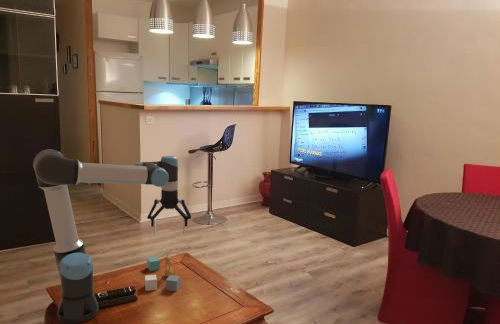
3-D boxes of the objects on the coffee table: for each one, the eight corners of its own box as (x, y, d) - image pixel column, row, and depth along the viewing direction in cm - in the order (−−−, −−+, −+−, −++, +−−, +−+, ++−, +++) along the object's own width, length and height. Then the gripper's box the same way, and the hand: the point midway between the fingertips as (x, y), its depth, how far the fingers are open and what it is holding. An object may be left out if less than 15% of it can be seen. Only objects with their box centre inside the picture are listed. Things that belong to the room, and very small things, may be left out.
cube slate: (165, 290, 180) (165, 280, 179) (169, 285, 185) (169, 275, 184) (176, 291, 179) (176, 281, 178) (179, 286, 184) (179, 276, 183)
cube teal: (150, 271, 198) (150, 262, 197) (147, 267, 202) (147, 258, 201) (160, 269, 200) (160, 260, 199) (156, 265, 205) (156, 256, 204)
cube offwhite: (145, 290, 179) (145, 280, 178) (145, 285, 183) (144, 275, 182) (156, 289, 180) (156, 279, 179) (156, 284, 185) (156, 274, 184)
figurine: (177, 274, 196) (177, 251, 193) (175, 280, 190) (176, 256, 188) (160, 274, 195) (160, 251, 193) (158, 279, 189) (158, 256, 187)
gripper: (140, 191, 179) (141, 235, 183) (196, 191, 182) (195, 235, 186) (143, 187, 186) (143, 230, 190) (196, 187, 189) (196, 229, 193)
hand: (169, 232), depth 188 cm, fingers open, 13 cm apart
